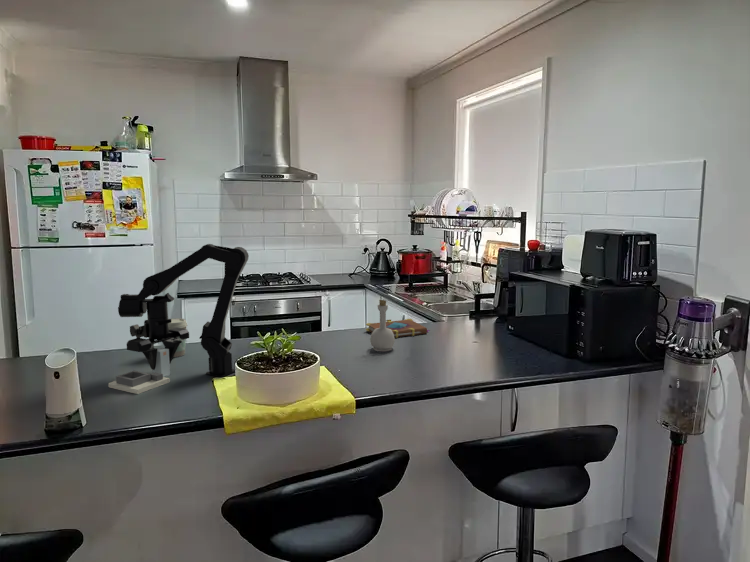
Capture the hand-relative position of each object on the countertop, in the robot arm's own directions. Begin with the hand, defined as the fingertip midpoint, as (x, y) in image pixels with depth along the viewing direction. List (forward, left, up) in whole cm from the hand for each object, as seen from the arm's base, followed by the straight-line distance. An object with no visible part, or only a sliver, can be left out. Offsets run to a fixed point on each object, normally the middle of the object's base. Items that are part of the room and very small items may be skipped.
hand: (160, 366), depth 162 cm
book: (-42, -82, -3) cm, 93 cm away
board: (-1, +9, -2) cm, 9 cm away
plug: (0, 0, -2) cm, 2 cm away
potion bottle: (-47, -56, -3) cm, 74 cm away
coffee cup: (+13, -17, -3) cm, 22 cm away
